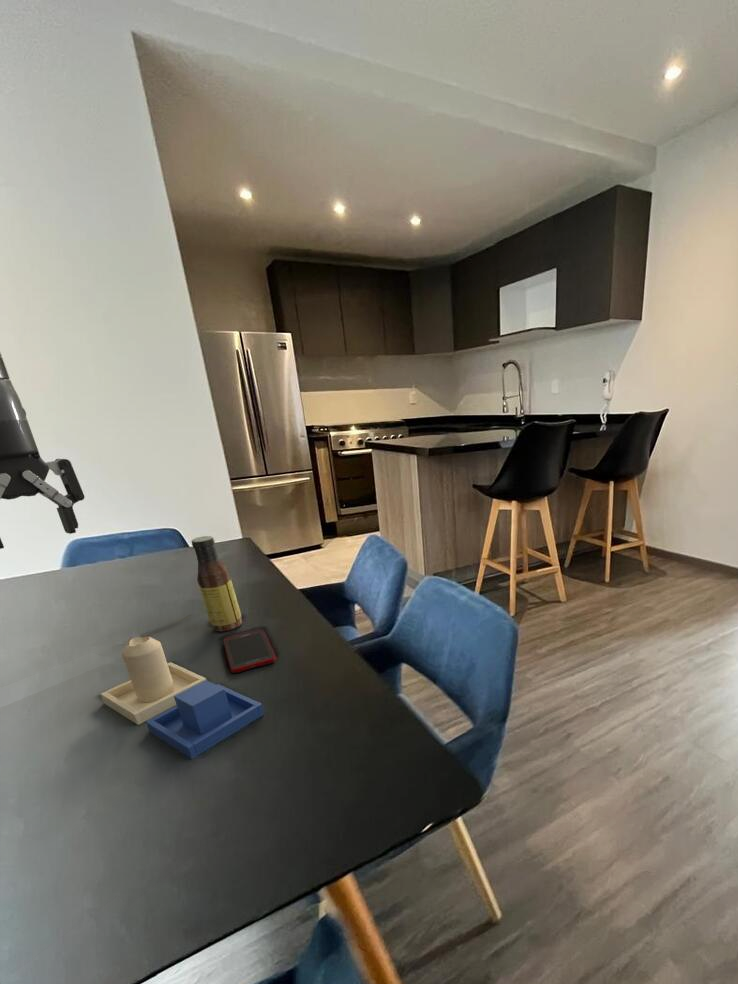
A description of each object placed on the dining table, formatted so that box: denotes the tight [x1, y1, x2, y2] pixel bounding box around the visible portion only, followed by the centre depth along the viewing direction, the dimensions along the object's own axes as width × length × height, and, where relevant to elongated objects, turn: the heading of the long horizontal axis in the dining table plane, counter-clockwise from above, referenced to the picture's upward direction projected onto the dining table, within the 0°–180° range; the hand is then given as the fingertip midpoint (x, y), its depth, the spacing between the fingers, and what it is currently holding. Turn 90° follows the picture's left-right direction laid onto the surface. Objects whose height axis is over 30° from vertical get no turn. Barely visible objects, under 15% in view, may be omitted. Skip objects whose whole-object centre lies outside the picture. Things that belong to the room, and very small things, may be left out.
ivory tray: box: [100, 662, 208, 726], centre depth 81 cm, size 12×12×2 cm
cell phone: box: [223, 629, 277, 674], centre depth 94 cm, size 8×15×1 cm, turn 28°
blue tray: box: [145, 683, 265, 760], centre depth 73 cm, size 12×12×2 cm
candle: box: [121, 635, 175, 702], centre depth 80 cm, size 6×6×10 cm
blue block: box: [174, 680, 232, 735], centre depth 73 cm, size 5×5×5 cm
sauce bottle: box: [191, 535, 243, 632], centre depth 102 cm, size 6×6×20 cm
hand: (36, 540), depth 70 cm, fingers open, 8 cm apart
